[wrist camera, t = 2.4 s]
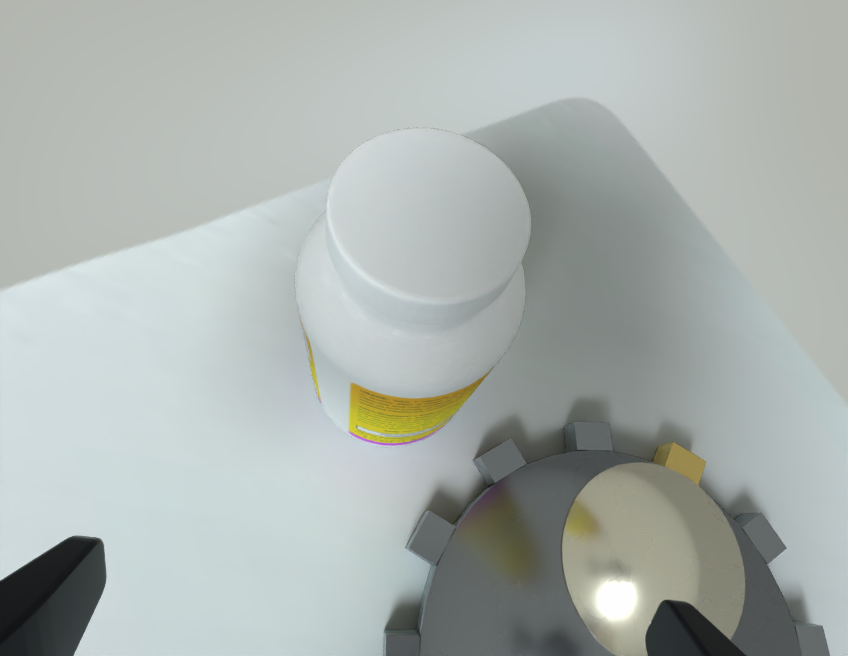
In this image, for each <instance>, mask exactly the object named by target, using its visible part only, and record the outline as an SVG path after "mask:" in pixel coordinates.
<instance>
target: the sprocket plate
mask: <svg viewBox="0 0 848 656" xmlns="http://www.w3.org/2000/svg"><path fill="white" fill-rule="evenodd" d="M564 435H565V446H566V453H562V454H556V455H552V456H549V457H546V458H543V459H540V460H537V461H534V462H532V463H529V464H527V463H526V461H525V459H524V458H523V456H522V454H521V453H520V451H519V450H518V448H517V446H516V445H515V443H514V441H513V440H512V438H510V439H508V440H507V441H505V442H503V443H502V444H500V445H498V446H496V447H495V448H493V449H491V450H490V451H488V452H486V453H485V454H483V455H481V456H480V457H478V458H476V459H475V460H473V461H474V463H475V464H476V466H477V468H478V470H479V471H480V473H481V475H482V477H483V478H484V480H485V482H486V483H487V485H490V486H489V487H487V488H486V489H485V490H484V491H483V492H482V493H481V494H480V495H479V496H477V497H476V498H475V499H474V500H473V501H472V502H471V503H470V504H469V505H468V506H467V508H466V509H465V510H464V511H463V513H462V514H461V515H460V517H459V518H458V519H457V520H456V522H455V523H454V524H451V523H449V522H448V521H446V520H445V519H443V518H441V517H440V516H438V515H437V514H435V513H433V512H432V511H430V510H428V511H425V512H424V514H423V516H422V518H421V520H420V522H419V524H418V525H417V527H416V529H415V531H414V533H413V535H412V536H411V538H410V540H409V542H408V544H407V546H406V547H405V548H406V549H408V550H409V551H411V552H412V553H414V554H416V555H417V556H419V557H420V558H422V559H423V560H425V561H427V562H428V563H430V564H432V567H431V569H430V572H429V575H428V578H427V582H426V585H425V588H424V592H423V595H422V600H421V606H420V611H419V617H418V622H417V631H416V630H384V646H383V656H648V654H647V650H646V644H645V636H646V631H647V629H648V627H649V625H650V623H651V621H652V619H653V616H654V614H655V612H656V610H657V608H658V606H659V604H660V603H661V602H662V601H663V600H667V599H668V600H677V601H685V602H688V603H690V604H691V605H692V606H694V607H695V608H696V609H697V610H698V611H699V612H700V613H701V614H702V615H704V616H705V617H706V618H707V619H708V620H709V621H710V622H711V623H712V624H713V625H714V626H715V627H717V628H718V629H719V630H720V631H721V632H722V633H723V634H724V635H725V636H726V637H727V638H729V639H730V640H731V641H732V642H733V643H734V644H735V645H736V646H737V647H738V648H739V649H740V650H742V651H743V652H744V653H745V654H746V655H747V656H830V654H829V650H828V646H827V642H826V638H825V634H824V630H823V626H821V625H815V624H810V623H805V622H799V621H792V618H791V615H790V613H789V610H788V608H787V605H786V603H785V600H784V597H783V595H782V593H781V591H780V589H779V587H778V585H777V583H776V581H775V579H774V577H773V575H772V573H771V571H770V569H769V567H768V566H767V564H768V563H769V562H771V561H772V560H773V559H774V558H775V557H777V556H778V555H779V554H780V553H781V552H783V551H784V550H785V549H786V546H785V545H784V544H783V542H782V541H781V539H780V538H779V537H778V535H777V534H776V532H775V531H774V530H773V528H772V527H771V525H770V524H769V523H768V521H767V520H766V518H765V517H764V516H763V514H762V513H748V514H741V515H740V516H738V517H737V518H736V519H733V518H732V517H731V516H730V515H729V514H728V513H727V512H726V511H725V510H724V509H723V508H722V507H721V506H720V505H719V504H718V503H717V502H715V501H714V500H713V499H712V498H711V497H710V496H709V495H708V494H707V493H706V492H705V491H704V490H703V489H702V488H700V487H699V486H698V485H699V482H700V479H701V476H702V473H703V470H704V467H705V464H706V461H705V460H703V459H701V458H700V457H698V456H696V455H695V454H693V453H691V452H690V451H688V450H686V449H684V448H683V447H681V446H679V445H678V444H676V443H674V442H672V443H668V444H665V445H661V446H658V448H657V451H656V454H655V456H654V459H653V462H650V461H648V460H645V459H642V458H640V457H636V456H631V455H627V454H623V453H618V452H610V451H613V446H612V439H611V431H610V423H605V422H572V423H570V424H568V425H566V426H564ZM525 464H526V465H525ZM523 465H524V466H523ZM491 484H492V485H491Z"/></svg>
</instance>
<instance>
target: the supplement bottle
mask: <svg viewBox="0 0 848 656" xmlns="http://www.w3.org/2000/svg"><path fill="white" fill-rule="evenodd" d="M530 234H531V214H530V208H529V204H528V201H527V198H526V195H525V193H524V191H523V188H522V186H521V185H520V183H519V181H518V179H517V178H516V176H515V175H514V174H513V172H512V171H511V170H510V169H509V167H508V166H507V165H506V164H505V163H504V162H503V161H502V160H501V159H500V158H499V157H498V156H497V155H495V154H494V153H493V152H491V151H490V150H489V149H487V148H486V147H484V146H483V145H481V144H479V143H477V142H475V141H473V140H471V139H469V138H466V137H464V136H461V135H458V134H455V133H452V132H449V131H445V130H440V129H435V128H406V129H398V130H394V131H390V132H386V133H383V134H381V135H378V136H375V137H374V138H372V139H369V140H368V141H366V142H364V143H362V144H361V145H360V146H358V147H357V148H356V149H355V150H353V151H352V152H351V153H350V154H349V155H348V156H347V157H346V158H345V159H344V160H343V162H342V163H341V164H340V166H339V167H338V169H337V171H336V172H335V174H334V176H333V179H332V181H331V183H330V187H329V191H328V195H327V202H326V211H325V212H324V213H323V214H322V215H321V216H320V217H319V219H318V220H317V221H316V222H315V223H314V225H313V226H312V228H311V230H310V231H309V233H308V235H307V237H306V239H305V241H304V243H303V245H302V248H301V250H300V254H299V257H298V261H297V267H296V274H295V294H296V301H297V306H298V312H299V316H300V320H301V324H302V329H303V333H304V338H305V343H306V347H307V352H308V357H309V362H310V367H311V372H312V377H313V381H314V386H315V389H316V393H317V395H318V398H319V401H320V403H321V405H322V407H323V409H324V410H325V412H326V414H327V415H328V417H329V418H330V419H331V420H332V421H333V423H334V424H335V425H336V426H338V427H339V428H340V429H341V430H342V431H343V432H345V433H346V434H348V435H349V436H351V437H353V438H355V439H357V440H359V441H361V442H363V443H367V444H370V445H374V446H380V447H401V446H406V445H411V444H414V443H417V442H420V441H422V440H424V439H426V438H428V437H430V436H431V435H433V434H435V433H436V432H437V431H438V430H440V429H441V428H442V427H443V426H444V425H445V424H446V423H447V422H448V421H449V420H450V419H451V418H452V417H453V416H454V415H455V413H456V412H457V411H458V410H459V409H460V408H461V406H462V405H463V404H464V403H465V401H466V400H467V399H468V398H469V397H470V395H471V394H472V393H473V392H474V391H475V389H476V388H477V387H478V386H479V385H480V383H481V382H482V381H483V380H484V378H485V377H486V376H487V375H488V374H489V372H490V371H491V370H492V369H493V368H494V366H495V365H496V364H497V363H498V362H499V360H500V359H501V358H502V357H503V355H504V354H505V353H506V351H507V350H508V348H509V347H510V345H511V343H512V342H513V340H514V338H515V336H516V334H517V332H518V329H519V327H520V324H521V320H522V317H523V312H524V307H525V299H526V287H525V276H524V270H523V266H522V263H521V262H522V260H523V258H524V256H525V253H526V250H527V248H528V244H529V240H530Z"/></svg>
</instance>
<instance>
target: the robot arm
mask: <svg viewBox="0 0 848 656" xmlns="http://www.w3.org/2000/svg"><path fill="white" fill-rule="evenodd" d="M105 583H106V565H105V553H104V544H103V541H102V540H101V539H100V538H96V537H87V536H72V537H69V538H67V539H65V540H64V541H62V542H61V543H59V544H58V545H56V546H54V547H53V548H51V549H50V550H48V551H46V552H45V553H43V554H42V555H40V556H38V557H37V558H35V559H34V560H32V561H31V562H29V563H27V564H26V565H24V566H23V567H21V568H19V569H18V570H16V571H15V572H13V573H12V574H10V575H8V576H7V577H5V578H4V579H2V580H0V656H73V655H74V653H75V651H76V649H77V647H78V645H79V643H80V640H81V638H82V636H83V634H84V632H85V630H86V628H87V625H88V623H89V621H90V619H91V617H92V615H93V613H94V610H95V608H96V606H97V604H98V602H99V600H100V598H101V595H102V593H103V590H104V587H105ZM645 644H646V650H647V654H648V656H747V655H746V654H745V653H744V652H743V651H742V650H740V649H739V648H738V647H737V646H736V645H735V644H734V643H733V642H732V641H731V640H730V639H729V638H727V637H726V636H725V635H724V634H723V633H722V632H721V631H720V630H719V629H718V628H717V627H715V626H714V625H713V624H712V623H711V622H710V621H709V620H708V619H707V618H706V617H705V616H704V615H702V614H701V613H700V612H699V611H698V610H697V609H696V608H695V607H694V606H692V605H691V604H690V603H688V602H685V601H677V600H668V599H667V600H663V601H662V602H661V603H660V604H659V606H658V608H657V610H656V612H655V614H654V616H653V619H652V621H651V623H650V625H649V627H648V629H647V631H646V636H645Z"/></svg>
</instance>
